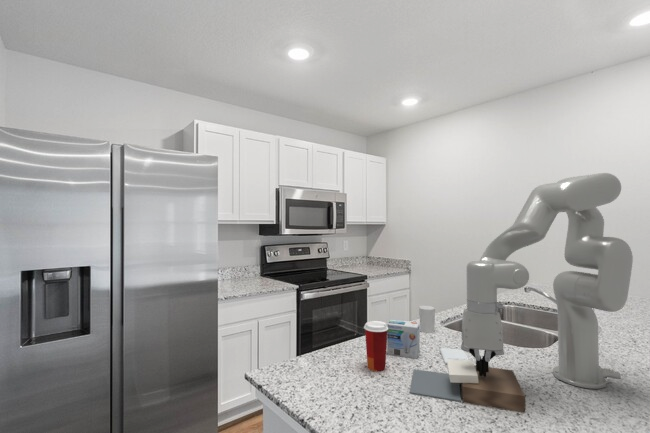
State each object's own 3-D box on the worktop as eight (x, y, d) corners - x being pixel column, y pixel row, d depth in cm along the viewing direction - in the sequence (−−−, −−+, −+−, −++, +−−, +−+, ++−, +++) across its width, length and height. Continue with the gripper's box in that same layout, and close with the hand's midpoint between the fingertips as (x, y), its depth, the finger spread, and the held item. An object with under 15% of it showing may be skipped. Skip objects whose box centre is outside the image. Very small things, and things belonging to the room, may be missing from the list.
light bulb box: (386, 354, 116) (386, 323, 117) (390, 348, 123) (390, 318, 123) (418, 359, 112) (417, 327, 113) (420, 352, 119) (419, 321, 119)
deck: (512, 384, 95) (512, 370, 95) (525, 412, 80) (525, 396, 80) (460, 376, 99) (459, 363, 99) (463, 402, 85) (463, 386, 85)
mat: (458, 376, 99) (458, 375, 99) (461, 402, 85) (461, 400, 85) (413, 370, 104) (413, 369, 104) (409, 393, 90) (409, 392, 90)
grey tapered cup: (437, 333, 138) (437, 309, 138) (421, 333, 138) (421, 309, 138) (432, 328, 145) (432, 305, 145) (417, 328, 145) (417, 305, 145)
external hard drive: (463, 354, 118) (472, 369, 106) (439, 352, 120) (445, 367, 107) (463, 349, 118) (472, 363, 106) (439, 348, 120) (445, 361, 107)
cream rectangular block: (473, 367, 96) (472, 360, 96) (478, 383, 86) (477, 375, 86) (447, 366, 98) (446, 360, 98) (450, 382, 88) (449, 374, 88)
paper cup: (391, 365, 107) (390, 322, 108) (385, 375, 100) (384, 328, 101) (368, 361, 111) (367, 319, 111) (360, 370, 104) (360, 325, 104)
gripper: (509, 305, 92) (510, 372, 91) (452, 301, 97) (452, 364, 96) (515, 312, 85) (516, 384, 84) (453, 307, 90) (453, 375, 89)
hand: (482, 373), depth 90 cm, fingers closed
